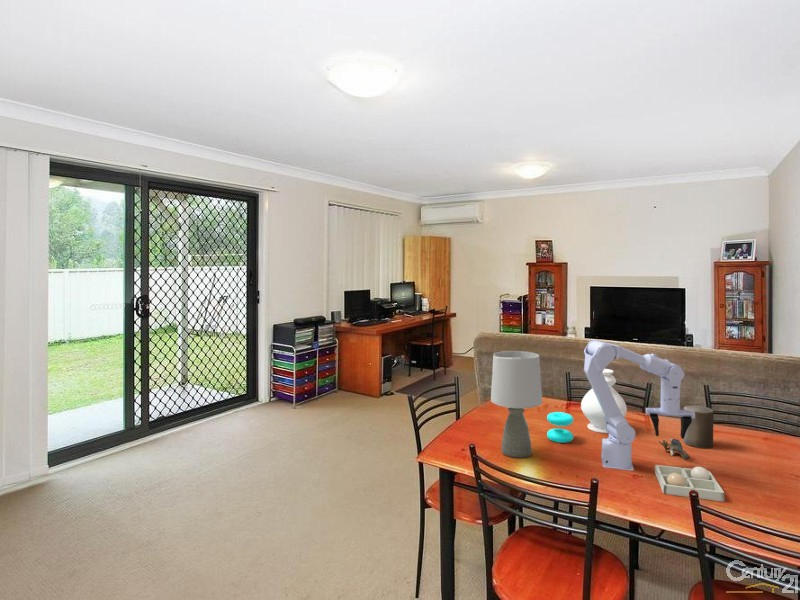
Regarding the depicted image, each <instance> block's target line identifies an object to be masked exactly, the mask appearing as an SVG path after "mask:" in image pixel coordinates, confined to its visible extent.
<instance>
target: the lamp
mask: <svg viewBox="0 0 800 600" xmlns="http://www.w3.org/2000/svg"><path fill="white" fill-rule="evenodd" d="M540 363H541V362H540V355H539V354H537V353H536V352H531V351H522V350H521V351H520V350H506V351H503V350H502V351H499V352H494V353H493V356H492V374H491V388H490V391H491V392H490V402H492V404H494V405H496V406H499V407H503V408H507V411H508V412H509V414H508V415H507V418H506V420H505V423H504V427H503V433H502V439H501V446H500V447H501V448H500V449H501V453H502V454H503V455H505V456H507V457H509V458H516V459H523V458H527V457H531V455H532V453H533V452H532V451H533V450H532V441H531V437H530V436H531V435H530V430H529V426H528V422H527V420H526V417H525V415H524V412H525V411H526V410H525V409H531V408H537V407H539V406H541V405H542V404H543V394H542V393H543V392H542V378H541V367H540V366H541V365H540Z"/></svg>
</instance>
